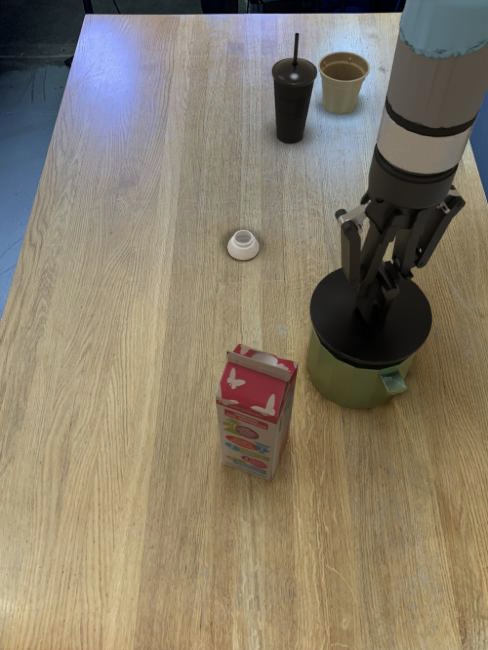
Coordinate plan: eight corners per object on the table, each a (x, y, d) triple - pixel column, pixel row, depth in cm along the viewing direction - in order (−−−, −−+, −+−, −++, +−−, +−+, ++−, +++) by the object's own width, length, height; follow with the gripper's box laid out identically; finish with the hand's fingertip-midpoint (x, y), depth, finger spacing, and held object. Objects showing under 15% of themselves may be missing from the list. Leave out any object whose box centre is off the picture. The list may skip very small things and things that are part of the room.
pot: (373, 301, 90) (386, 255, 81) (429, 411, 80) (452, 372, 71) (287, 322, 88) (291, 278, 79) (334, 438, 78) (345, 401, 69)
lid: (398, 258, 79) (414, 208, 72) (451, 350, 71) (475, 304, 64) (292, 284, 77) (297, 235, 69) (334, 381, 69) (345, 338, 61)
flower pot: (349, 128, 113) (356, 87, 106) (305, 111, 116) (309, 71, 109) (370, 101, 117) (378, 60, 110) (327, 86, 120) (332, 45, 113)
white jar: (221, 246, 96) (238, 266, 94) (221, 233, 94) (238, 253, 92) (247, 233, 98) (265, 252, 96) (247, 220, 96) (265, 240, 93)
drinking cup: (316, 130, 112) (328, 27, 96) (301, 155, 109) (310, 52, 92) (278, 120, 114) (284, 16, 98) (262, 144, 110) (265, 40, 94)
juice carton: (240, 418, 79) (238, 325, 61) (288, 435, 78) (300, 345, 60) (221, 463, 76) (213, 378, 58) (271, 482, 74) (278, 401, 56)
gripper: (472, 109, 56) (414, 270, 76) (323, 138, 54) (303, 296, 73) (515, 160, 52) (442, 316, 71) (355, 195, 50) (325, 346, 69)
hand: (372, 306), depth 72 cm, fingers closed on lid, 2 cm apart
